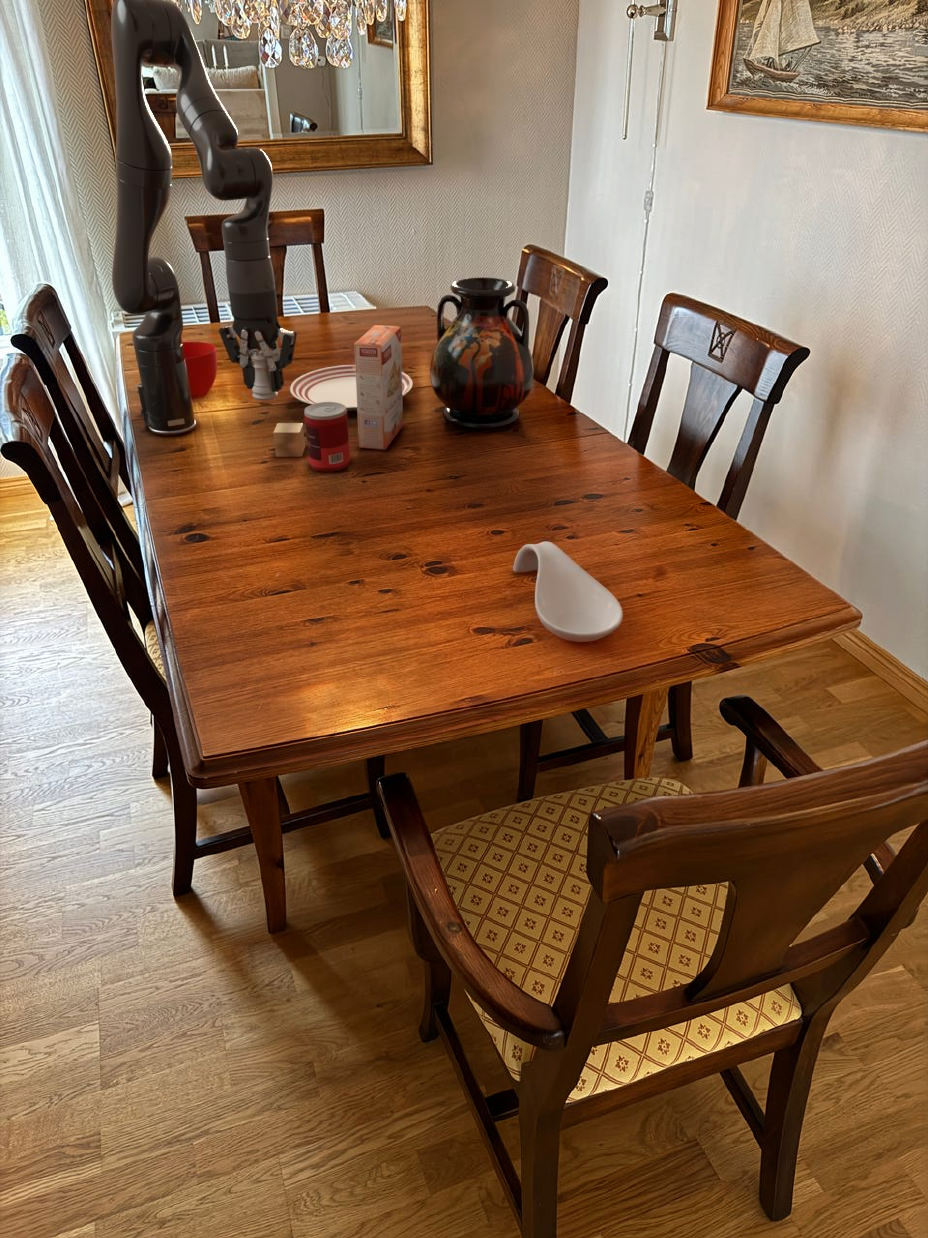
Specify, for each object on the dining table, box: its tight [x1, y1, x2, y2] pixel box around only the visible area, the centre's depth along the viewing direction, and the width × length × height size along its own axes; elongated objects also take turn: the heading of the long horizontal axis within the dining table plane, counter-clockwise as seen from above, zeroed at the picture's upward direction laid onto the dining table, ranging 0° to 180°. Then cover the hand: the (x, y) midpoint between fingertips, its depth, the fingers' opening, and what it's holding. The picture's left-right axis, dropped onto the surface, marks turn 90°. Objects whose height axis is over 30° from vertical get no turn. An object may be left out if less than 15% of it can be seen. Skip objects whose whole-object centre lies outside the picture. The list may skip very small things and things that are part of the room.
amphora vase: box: [429, 276, 535, 433], centre depth 184 cm, size 22×22×28 cm
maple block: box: [272, 422, 306, 458], centre depth 175 cm, size 5×5×5 cm
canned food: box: [303, 402, 351, 473], centre depth 168 cm, size 8×8×11 cm
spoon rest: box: [512, 541, 624, 643], centre depth 126 cm, size 24×12×7 cm, turn 21°
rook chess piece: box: [251, 349, 279, 402], centre depth 154 cm, size 4×4×8 cm
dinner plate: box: [289, 364, 414, 412], centre depth 202 cm, size 27×27×3 cm
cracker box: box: [353, 324, 404, 451], centre depth 177 cm, size 14×6×21 cm, turn 168°
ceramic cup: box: [182, 341, 218, 399], centre depth 204 cm, size 13×17×10 cm
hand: (264, 388), depth 155 cm, fingers closed on rook chess piece, 4 cm apart
